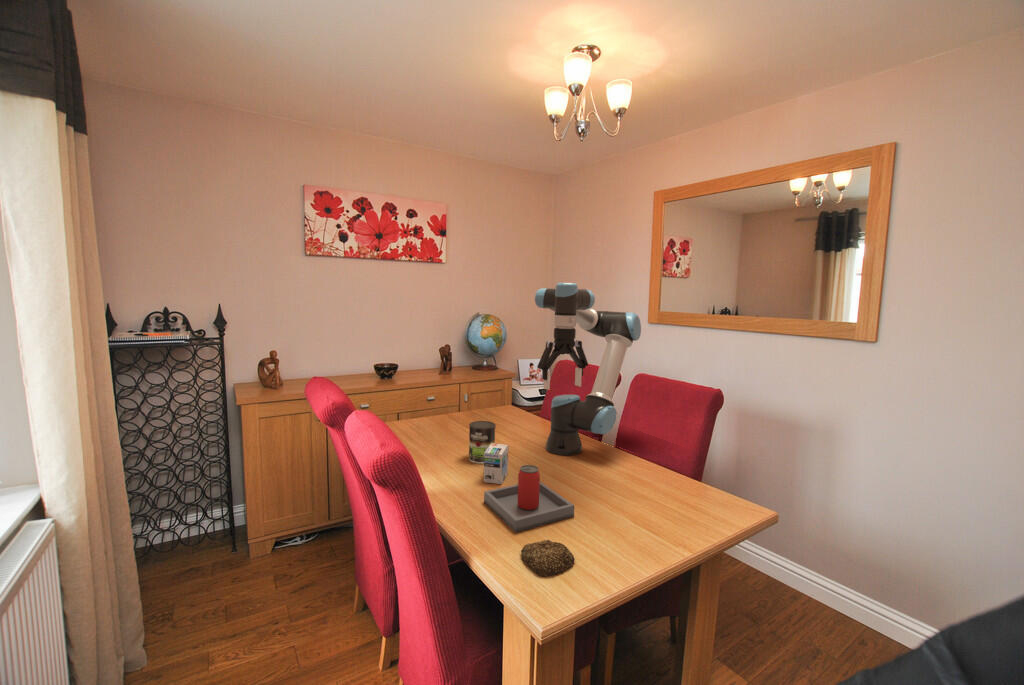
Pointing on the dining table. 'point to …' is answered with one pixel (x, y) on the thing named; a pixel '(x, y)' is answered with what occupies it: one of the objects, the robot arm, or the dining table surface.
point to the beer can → (528, 487)
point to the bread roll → (547, 557)
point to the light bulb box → (496, 463)
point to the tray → (519, 519)
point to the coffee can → (480, 439)
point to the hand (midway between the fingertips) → (562, 387)
